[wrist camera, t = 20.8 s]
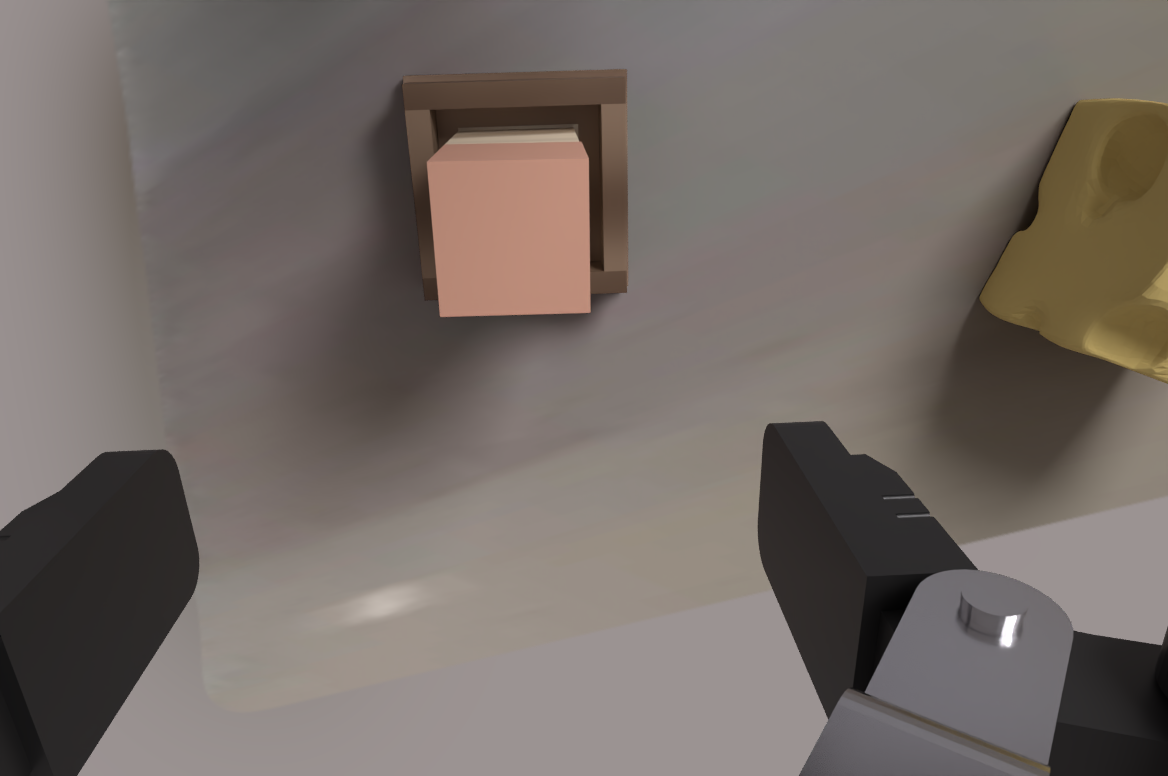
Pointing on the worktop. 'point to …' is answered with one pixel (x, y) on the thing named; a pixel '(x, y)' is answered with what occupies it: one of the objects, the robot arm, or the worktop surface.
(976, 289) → the worktop surface
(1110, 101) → the cheese
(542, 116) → the socket board
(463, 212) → the top block
